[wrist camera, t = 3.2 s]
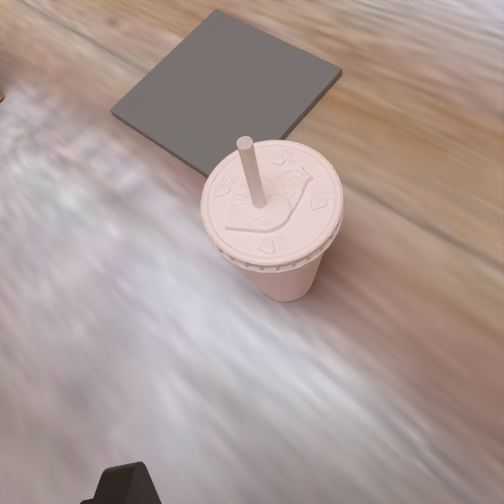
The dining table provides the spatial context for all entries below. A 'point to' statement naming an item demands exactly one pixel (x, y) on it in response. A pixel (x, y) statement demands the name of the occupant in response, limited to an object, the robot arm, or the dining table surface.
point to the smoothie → (273, 213)
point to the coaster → (224, 92)
